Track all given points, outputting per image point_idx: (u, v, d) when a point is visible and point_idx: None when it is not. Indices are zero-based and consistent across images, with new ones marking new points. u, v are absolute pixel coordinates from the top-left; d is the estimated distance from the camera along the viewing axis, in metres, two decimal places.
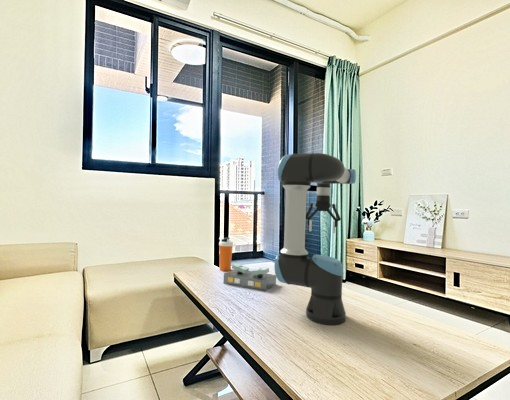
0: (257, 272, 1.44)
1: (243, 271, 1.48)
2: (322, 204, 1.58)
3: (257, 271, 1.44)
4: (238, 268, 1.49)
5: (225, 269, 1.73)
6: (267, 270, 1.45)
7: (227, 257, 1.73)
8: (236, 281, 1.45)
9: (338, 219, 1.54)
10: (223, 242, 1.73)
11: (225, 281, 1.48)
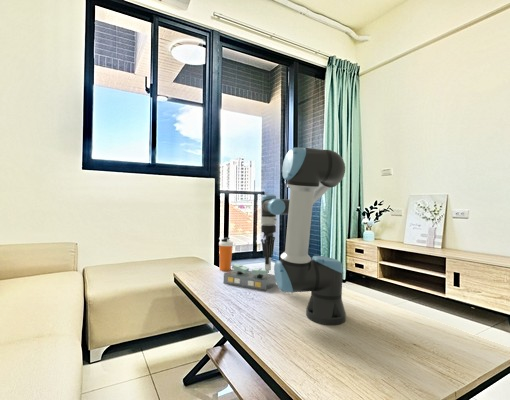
0: (257, 272, 1.44)
1: (243, 271, 1.48)
2: None
3: (257, 271, 1.44)
4: (238, 268, 1.49)
5: (225, 269, 1.73)
6: (267, 271, 1.45)
7: (227, 257, 1.73)
8: (236, 281, 1.45)
9: None
10: (223, 242, 1.73)
11: (225, 281, 1.48)
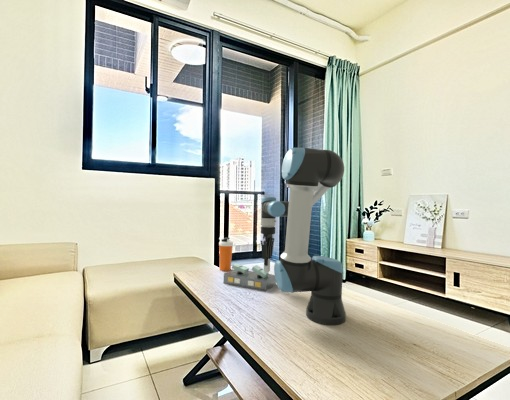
0: (257, 271, 1.44)
1: (243, 271, 1.48)
2: None
3: (258, 271, 1.44)
4: (238, 268, 1.49)
5: (225, 269, 1.73)
6: (267, 274, 1.45)
7: (227, 257, 1.73)
8: (236, 281, 1.45)
9: None
10: (223, 242, 1.73)
11: (225, 281, 1.48)
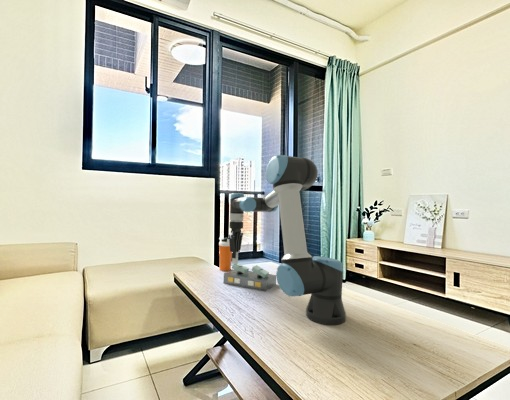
0: (257, 271, 1.44)
1: (243, 271, 1.48)
2: None
3: (258, 271, 1.44)
4: (238, 268, 1.49)
5: (225, 269, 1.73)
6: (267, 274, 1.45)
7: (227, 257, 1.73)
8: (236, 281, 1.45)
9: None
10: (223, 242, 1.73)
11: (225, 281, 1.48)
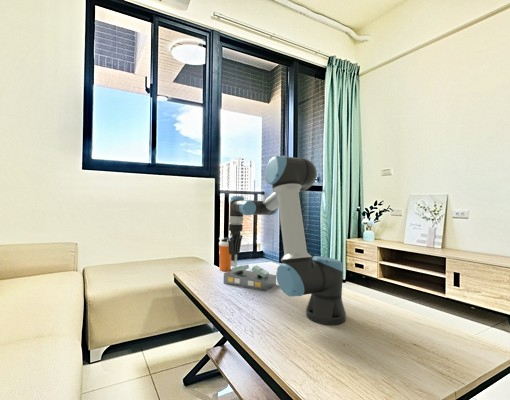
0: (257, 271, 1.44)
1: (243, 268, 1.48)
2: None
3: (258, 271, 1.44)
4: (238, 267, 1.49)
5: (225, 269, 1.73)
6: (267, 274, 1.45)
7: (227, 257, 1.73)
8: (236, 281, 1.45)
9: None
10: (223, 242, 1.73)
11: (225, 281, 1.48)
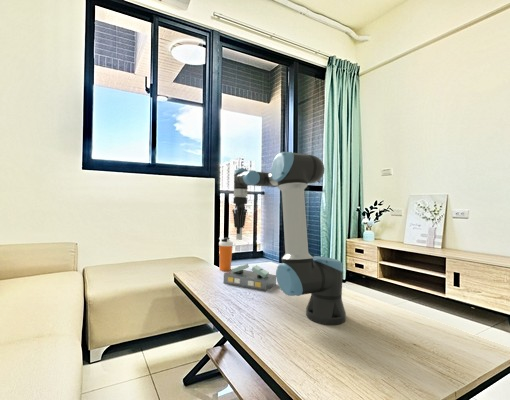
0: (257, 271, 1.44)
1: (243, 267, 1.48)
2: None
3: (258, 271, 1.44)
4: (238, 267, 1.49)
5: (225, 269, 1.73)
6: (267, 274, 1.45)
7: (227, 257, 1.73)
8: (236, 281, 1.45)
9: None
10: (223, 242, 1.73)
11: (225, 281, 1.48)
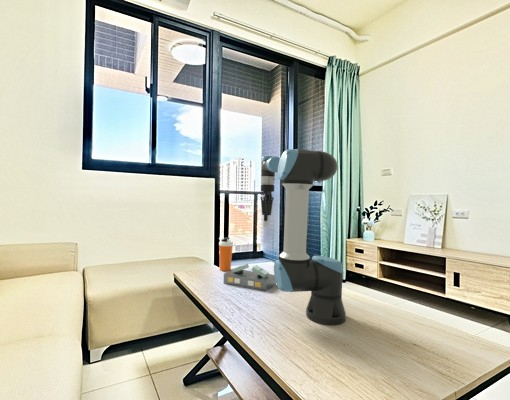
0: (257, 271, 1.44)
1: (243, 267, 1.48)
2: None
3: (258, 271, 1.44)
4: (238, 267, 1.49)
5: (225, 269, 1.73)
6: (267, 274, 1.45)
7: (227, 257, 1.73)
8: (236, 281, 1.45)
9: None
10: (223, 242, 1.73)
11: (225, 281, 1.48)
